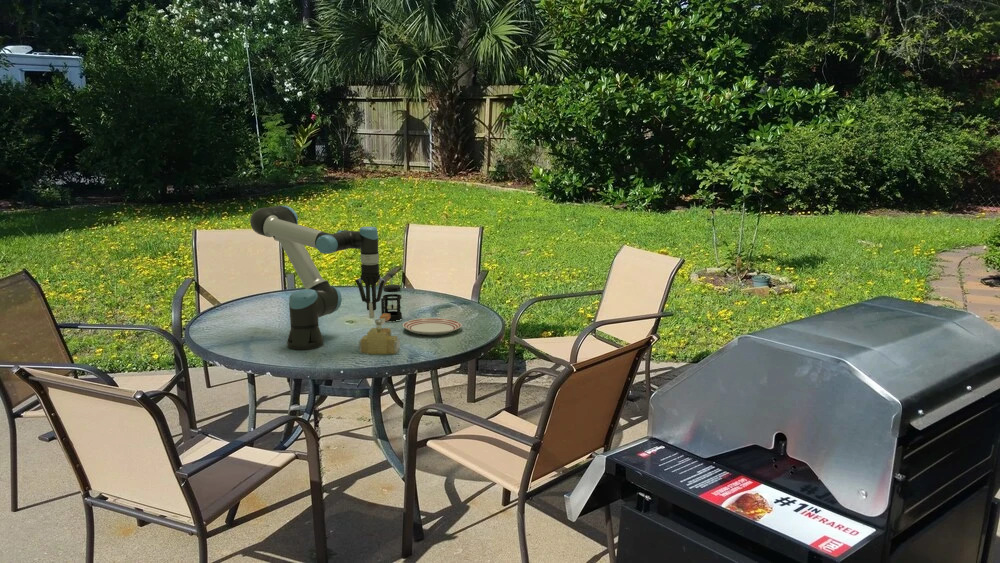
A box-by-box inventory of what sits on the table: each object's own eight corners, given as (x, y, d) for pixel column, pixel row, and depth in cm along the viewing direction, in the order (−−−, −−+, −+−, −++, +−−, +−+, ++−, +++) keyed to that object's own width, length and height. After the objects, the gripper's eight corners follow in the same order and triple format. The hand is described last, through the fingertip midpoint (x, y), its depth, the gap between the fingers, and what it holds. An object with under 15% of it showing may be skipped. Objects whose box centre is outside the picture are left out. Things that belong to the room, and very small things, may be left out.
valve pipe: (358, 353, 306) (357, 332, 304) (363, 348, 314) (362, 327, 312) (396, 354, 304) (395, 333, 303) (400, 349, 312) (400, 328, 311)
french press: (394, 316, 369) (393, 271, 364) (407, 319, 363) (406, 273, 358) (376, 320, 360) (375, 274, 355) (389, 323, 354) (388, 276, 350)
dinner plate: (432, 320, 362) (431, 313, 361) (473, 329, 345) (473, 322, 344) (390, 331, 341) (390, 324, 340) (432, 342, 324) (432, 335, 323)
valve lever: (374, 330, 306) (374, 321, 305) (383, 321, 321) (383, 312, 320) (382, 331, 306) (381, 321, 305) (390, 321, 321) (390, 312, 320)
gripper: (352, 264, 309) (354, 319, 314) (382, 265, 308) (384, 320, 313) (357, 261, 316) (359, 315, 321) (387, 262, 315) (388, 315, 320)
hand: (371, 317), depth 317 cm, fingers closed
